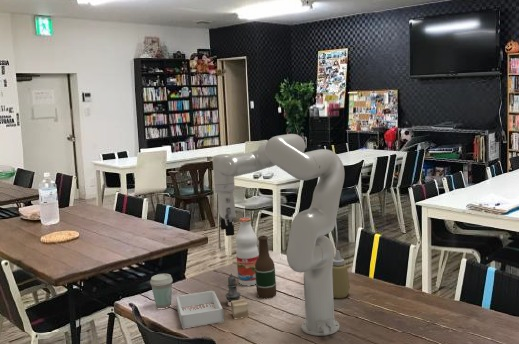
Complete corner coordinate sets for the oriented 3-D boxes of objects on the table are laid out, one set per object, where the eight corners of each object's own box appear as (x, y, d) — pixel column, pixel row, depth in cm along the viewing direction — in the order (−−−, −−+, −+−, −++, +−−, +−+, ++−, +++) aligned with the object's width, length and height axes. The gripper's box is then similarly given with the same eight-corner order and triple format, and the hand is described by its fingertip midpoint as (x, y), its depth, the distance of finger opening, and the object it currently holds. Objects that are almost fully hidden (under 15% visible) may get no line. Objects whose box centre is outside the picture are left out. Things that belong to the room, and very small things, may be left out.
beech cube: (248, 317, 191) (247, 303, 191) (234, 319, 190) (233, 306, 189) (245, 312, 196) (244, 299, 195) (232, 314, 195) (231, 301, 194)
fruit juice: (263, 279, 229) (259, 216, 225) (256, 287, 220) (251, 221, 217) (243, 278, 232) (238, 215, 229) (235, 285, 224) (230, 220, 220)
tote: (223, 322, 188) (222, 308, 187) (182, 329, 184) (181, 315, 184) (214, 302, 207) (213, 290, 206) (177, 308, 203) (175, 296, 203)
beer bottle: (277, 291, 214) (273, 233, 211) (275, 298, 207) (272, 238, 203) (257, 292, 215) (254, 234, 212) (255, 299, 207) (251, 239, 204)
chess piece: (239, 306, 201) (237, 276, 200) (224, 306, 202) (221, 276, 201) (242, 300, 207) (240, 271, 205) (228, 300, 208) (225, 271, 206)
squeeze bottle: (344, 301, 200) (342, 254, 197) (325, 297, 205) (323, 252, 202) (354, 294, 206) (352, 249, 204) (335, 290, 211) (333, 246, 209)
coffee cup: (170, 311, 201) (167, 280, 200) (149, 310, 203) (146, 280, 201) (178, 302, 209) (175, 273, 208) (157, 302, 211) (154, 273, 210)
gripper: (239, 190, 191) (242, 236, 194) (230, 183, 208) (232, 225, 210) (218, 192, 189) (221, 239, 192) (210, 185, 206) (213, 228, 208)
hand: (227, 232), depth 201 cm, fingers open, 9 cm apart
